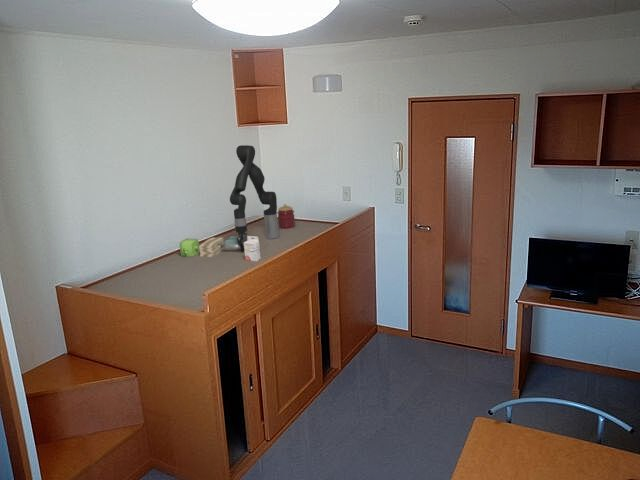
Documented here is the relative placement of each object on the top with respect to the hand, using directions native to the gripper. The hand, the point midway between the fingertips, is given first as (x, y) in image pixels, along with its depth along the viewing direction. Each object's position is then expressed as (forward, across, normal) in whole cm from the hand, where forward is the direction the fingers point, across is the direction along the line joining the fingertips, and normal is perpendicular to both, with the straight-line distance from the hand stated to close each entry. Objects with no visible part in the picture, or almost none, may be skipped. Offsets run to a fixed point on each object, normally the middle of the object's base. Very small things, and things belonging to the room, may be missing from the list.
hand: (243, 249), depth 352 cm
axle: (-1, 0, +6) cm, 6 cm away
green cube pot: (+2, -4, +35) cm, 35 cm away
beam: (+1, 0, +22) cm, 22 cm away
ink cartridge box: (+2, -18, -12) cm, 22 cm away
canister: (+2, +68, -13) cm, 69 cm away
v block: (+1, +14, +11) cm, 18 cm away
